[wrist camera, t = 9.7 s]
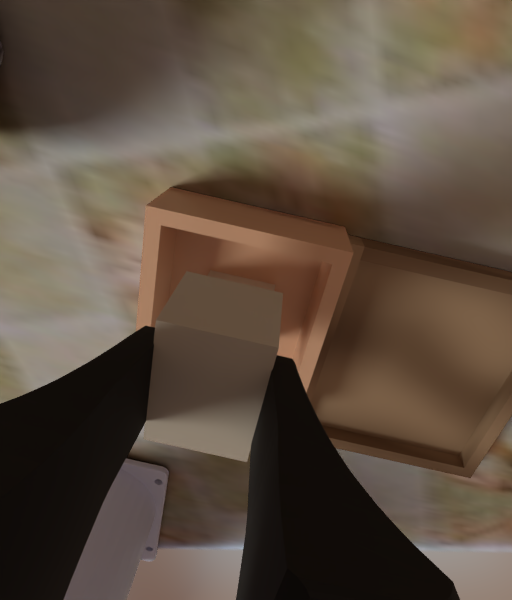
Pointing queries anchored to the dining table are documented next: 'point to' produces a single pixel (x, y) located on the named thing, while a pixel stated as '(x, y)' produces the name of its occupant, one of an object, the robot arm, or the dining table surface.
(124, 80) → the dining table surface
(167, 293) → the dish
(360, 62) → the dining table surface
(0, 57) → the rock
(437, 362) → the tray
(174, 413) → the stone beige
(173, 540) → the dining table surface
